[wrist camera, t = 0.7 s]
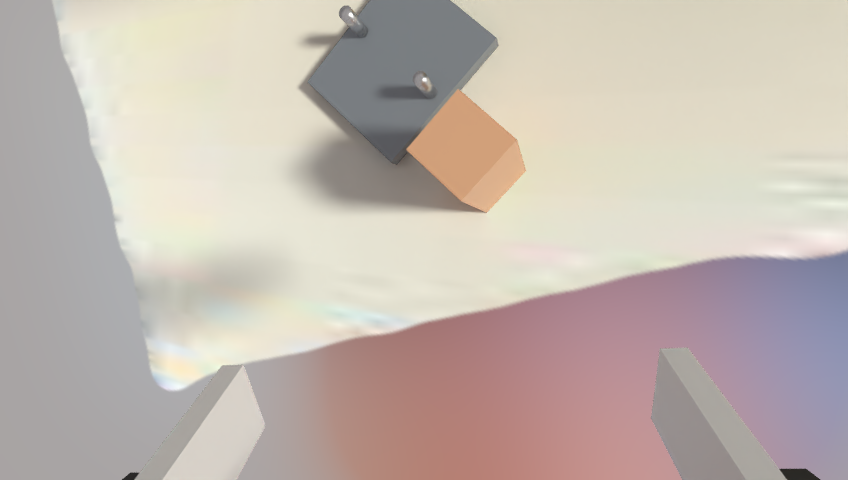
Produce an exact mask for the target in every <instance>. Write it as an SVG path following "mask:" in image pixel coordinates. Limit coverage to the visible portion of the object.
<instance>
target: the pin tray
mask: <svg viewBox="0 0 848 480" xmlns="http://www.w3.org/2000/svg"><path fill="white" fill-rule="evenodd" d="M339 16H340V18H341V19H342V20H343V21H344V22H345V23H346V24H347V25H348V26H349V28H348V30H347V31H346V32H345V34H344V35H343V36H342V38H341V39H340V40H339V41H338V43H337V44H336V45H335V47H334V48H333V49H332V51H331V52H330V53H329V55H328V56H327V57H326V58H325V60H324V61H323V62H322V64H321V65H320V66H319V68H318V69H317V70H316V72H315V73H314V74H313V75H312V77H311V78H310V79H309V81H308V83H309V84H310V85H311V86H312V87H313V88H314V89H315V90H316V91H317V92H318V93H320V94H321V95H322V96H323V97H324V98H325V99H326V100H327V101H328V102H329V103H330V104H331V105H332V106H333V107H334V108H335V109H336V110H337V111H338V112H339V113H340V114H341V115H342V116H344V117H345V118H346V119H347V120H348V121H349V122H350V123H351V124H352V125H353V126H354V127H355V128H356V129H357V130H358V131H359V132H360V133H361V134H362V135H363V136H364V137H365V138H366V139H367V140H369V141H370V142H371V143H372V144H373V145H374V146H375V147H376V148H377V149H378V150H379V151H380V152H381V153H382V154H383V155H384V156H385V157H386V158H387V159H388V160H389V161H390V162H392V163H394V164H396V165H397V164H398V162H399V161H400V160H401V159H402V158H403V157H404V155H405V154H406V153H407V152H408V151H407V150H406V149H407V148H408V147H409V146H410V144H411V143H412V142H413V141H414V140H415V139H416V137H417V136H418V135H419V134H420V133H421V132H422V130H423V129H424V128H425V127H426V126H427V125H428V123H429V122H430V121H431V120H432V119H433V117H434V116H435V115H436V114H437V113H438V112H439V110H440V109H441V108H442V107H443V106H444V105H445V103H446V102H447V101H448V100H449V99H450V98H451V96H452V95H453V94H454V93H455V92H456V91H457V89H459V90H461V89H462V88H463V87H464V85H465V84H466V83H467V82H468V81H469V80H470V78H471V77H472V76H473V75H474V74H475V73H476V71H477V70H478V69H479V68H480V67H481V66H482V64H483V63H484V62H485V61H486V60H487V59H488V57H489V56H490V55H491V54H492V53H493V52H494V50H495V49H496V48H497V47H498V42H497V38H496V37H495V36H493V35H492V34H491V33H490V32H488V31H487V30H486V29H485V28H484V27H482V26H481V25H480V24H479V23H477V22H476V21H475V20H474V19H472V18H471V17H470V16H469V15H468V14H466V13H465V12H464V11H463V10H461V9H460V8H459V7H458V6H456V5H455V4H454V3H453V2H452V1H450V0H370V1H369V2H368V4H367V5H366V6H365V8H364V9H363V10H362V11H361V13H360V14H359V15H358V16H357V15H356V13H355V12H354V11H353V10H352V9H351V8H350V7H349V6H343V7H342V8H341V9H340V11H339Z"/></svg>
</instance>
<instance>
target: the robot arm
mask: <svg viewBox="0 0 848 480" xmlns="http://www.w3.org/2000/svg"><path fill="white" fill-rule="evenodd" d="M651 419H652V421H653V423H654V425H655V427H656V429H657V431H658V432H659V435H660V436H661V439H662V441H663V442H664V445H665V446H666V449H667V450H668V452H669V454H670V456H671V458H672V460H673V462H674V464H675V466H676V468H677V470H678V472H679V474H680V476H681V478H682V480H820V479H819V478H817V477H816V476H815V475H814V474H812V473H811V472H809V471H808V470H807V469H779V468H778V467H777V466H776V464H775V463H774V462H773V461H772V459H771V458H770V457H769V455H768V454H767V452H766V451H765V450H764V448H763V447H762V446H761V444H760V443H759V442H758V440H757V439H756V438H755V436H754V435H753V434H752V432H751V431H750V430H749V428H748V427H747V426H746V424H745V423H744V422H743V420H742V419H741V418H740V417H739V415H738V414H737V413H736V411H735V410H734V408H733V407H732V406H731V405H730V403H729V402H728V401H727V399H726V398H725V397H724V395H723V394H722V393H721V391H720V390H719V389H718V387H717V386H716V385H715V383H714V382H713V381H712V379H711V378H710V377H709V375H708V374H707V373H706V372H705V370H704V369H703V367H702V366H701V365H700V363H699V362H698V361H697V359H696V358H695V357H694V355H693V354H692V353H691V351H690V350H689V349H688V348H665V349H660V352H659V360H658V368H657V376H656V384H655V392H654V400H653V408H652V416H651ZM264 427H265V423H264V420H263V417H262V415H261V412H260V409H259V406H258V404H257V401H256V398H255V395H254V393H253V390H252V387H251V384H250V382H249V379H248V376H247V373H246V371H245V368H244V365H225V366H221V368H220V369H219V370H218V372H217V373H216V374H215V376H214V377H213V378H212V379H211V381H210V382H209V383H208V385H207V386H206V387H205V389H204V390H203V391H202V393H201V394H200V395H199V396H198V398H197V399H196V400H195V402H194V403H193V404H192V405H191V407H190V408H189V409H188V411H187V412H186V413H185V415H184V416H183V417H182V418H181V420H180V421H179V422H178V424H177V425H176V426H175V428H174V429H173V430H172V431H171V433H170V434H169V435H168V437H167V438H166V439H165V440H164V442H163V443H162V445H161V446H160V447H159V448H158V450H157V451H156V452H155V454H154V455H153V456H152V457H151V459H150V460H149V461H148V463H147V464H146V465H145V466H144V468H143V469H142V470H141V472H140V473H130V474H128V475H127V476H126V477H125V478H124V479H122V480H237V478H238V476H239V474H240V473H241V471H242V469H243V467H244V465H245V463H246V461H247V459H248V458H249V455H250V454H251V452H252V450H253V448H254V446H255V444H256V442H257V441H258V439H259V437H260V435H261V433H262V431H263V429H264Z"/></svg>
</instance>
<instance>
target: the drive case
mask: <svg viewBox="0 0 848 480" xmlns="http://www.w3.org/2000/svg"><path fill="white" fill-rule="evenodd" d="M406 150H407V151H408V152H409V153H410V154H411V155H412V156H413V157H414V158H416V159H417V160H418V161H419V162H420V163H421V164H422V165H423V166H424V167H425V168H426V169H427V170H428V171H429V172H430V173H431V174H433V175H434V176H435V177H436V178H437V179H438V180H439V181H440V182H441V183H442V184H443V185H444V186H445V187H446V188H447V189H448V190H450V191H451V192H452V193H453V194H454V195H455V196H456V197H457V198H458V199H459V200H460V201H462V202H464V203H466V204H468V205H471V206H473V207H475V208H477V209H479V210H482V211H484V212H486V213H487V212H488V211H489V210H490V209H491V208H492V207H493V206H494V204H495V203H496V202H497V201H498V200H499V199H500V198H501V197H502V196H503V195H504V194H505V193H506V192H507V191H508V190H509V188H510V187H511V186H512V185H513V184H514V183H515V182H516V181H517V180H518V179H519V178H520V177H521V176H522V175H523V174H524V172H525V171H526V169H525V165H524V162H523V159H522V155H521V152H520V148H519V145H518V142H517V139H516V138H514V137H513V136H512V135H511V134H510V133H509V132H507V131H506V130H505V129H504V128H503V127H502V126H501V125H499V124H498V123H497V122H496V121H495V120H494V119H492V118H491V117H490V116H489V115H488V114H487V113H486V112H484V111H483V110H482V109H481V108H480V107H479V106H477V105H476V104H475V103H474V102H473V101H472V100H471V99H469V98H468V97H467V96H466V95H465V94H464V93H462V92H461V91H460V90H459V89H457V91H456V92H455V93H454V94H453V95H452V96H451V98H450V99H449V100H448V101H447V102H446V103H445V105H444V106H443V107H442V108H441V109H440V110H439V112H438V113H437V114H436V115H435V116H434V117H433V119H432V120H431V121H430V122H429V123H428V125H427V126H426V127H425V128H424V129H423V130H422V132H421V133H420V134H419V135H418V136H417V137H416V139H415V140H414V141H413V142H412V143H411V144H410V146H409V147H408V148H407V149H406Z"/></svg>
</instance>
